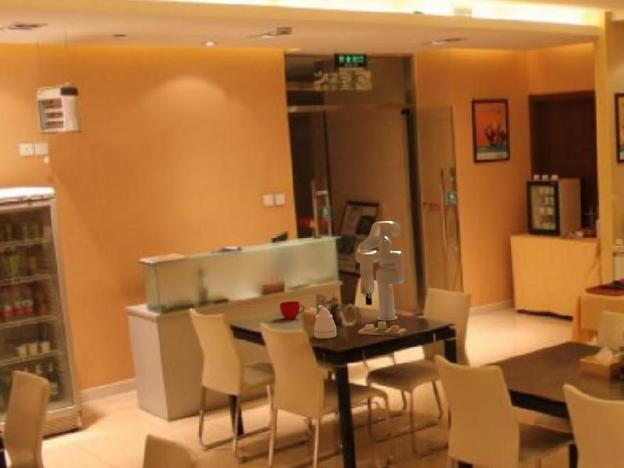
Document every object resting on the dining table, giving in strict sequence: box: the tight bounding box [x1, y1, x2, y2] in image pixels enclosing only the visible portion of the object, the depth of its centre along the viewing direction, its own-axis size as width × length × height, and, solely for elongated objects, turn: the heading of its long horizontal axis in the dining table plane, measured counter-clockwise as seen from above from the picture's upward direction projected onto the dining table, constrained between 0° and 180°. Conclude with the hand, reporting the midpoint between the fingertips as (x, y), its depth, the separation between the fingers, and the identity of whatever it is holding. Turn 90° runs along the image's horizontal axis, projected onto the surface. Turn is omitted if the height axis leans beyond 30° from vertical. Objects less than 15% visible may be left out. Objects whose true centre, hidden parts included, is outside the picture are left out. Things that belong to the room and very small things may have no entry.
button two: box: [377, 321, 387, 330], centre depth 502 cm, size 5×5×4 cm
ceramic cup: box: [279, 300, 305, 320], centre depth 562 cm, size 13×17×10 cm
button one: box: [364, 323, 375, 330], centre depth 506 cm, size 5×5×4 cm
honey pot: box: [313, 304, 337, 339], centre depth 504 cm, size 13×13×18 cm
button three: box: [390, 325, 400, 332], centre depth 498 cm, size 5×5×4 cm
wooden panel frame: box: [357, 326, 408, 337], centre depth 502 cm, size 10×26×2 cm, turn 61°
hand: (369, 304), depth 505 cm, fingers closed
